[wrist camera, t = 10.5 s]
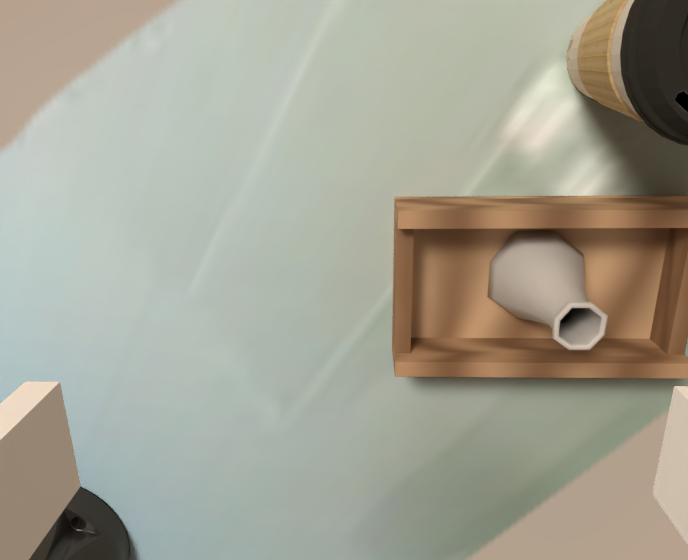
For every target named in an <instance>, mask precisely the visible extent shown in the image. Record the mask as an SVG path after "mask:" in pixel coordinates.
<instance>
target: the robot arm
mask: <svg viewBox="0 0 688 560" xmlns="http://www.w3.org/2000/svg"><path fill="white" fill-rule="evenodd" d="M652 494H653V496H654V497H655V499H656V500H657V502H658V503H659V505H660V506H661V507H662V509H663V510H664V512H665V513H666V515H667V516H668V517H669V518H670V520H671V522H672V523H673V525H674V526H675V527H676V529H677V530H678V532H679V533H680V535H681V536H682V538H683V539H684V540H685V542H686V543H687V545H688V386H674V390H673V395H672V400H671V405H670V410H669V415H668V420H667V425H666V429H665V435H664V439H663V444H662V449H661V454H660V459H659V464H658V469H657V474H656V479H655V483H654V488H653V493H652ZM129 557H130V547H129V541H128V537H127V534H126V532H125V529H124V527H123V525H122V524H121V522H120V520H119V519H118V517H117V516H116V515H115V514H114V512H113V511H112V510H111V509H110V508H109V507H108V506H107V505H106V504H105V503H104V502H103V501H101V500H100V499H99V498H97V497H96V496H95V495H93V494H91V493H90V492H88V491H86V490H85V489H83V488H81V487H80V481H79V476H78V471H77V466H76V461H75V456H74V451H73V446H72V441H71V436H70V431H69V426H68V421H67V416H66V411H65V406H64V401H63V396H62V391H61V385H60V382H25V383H23V384H22V385H21V386H20V387H19V388H18V389H17V390H15V391H14V392H13V393H12V394H11V395H10V396H9V397H7V398H6V399H5V400H4V401H3V402H2V403H1V404H0V560H129Z"/></svg>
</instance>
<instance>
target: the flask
mask: <svg viewBox="0 0 688 560" xmlns="http://www.w3.org/2000/svg"><path fill="white" fill-rule="evenodd" d="M487 297H489V298H490V299H492V300H493V301H494V302H496V303H497V304H498V305H500V306H501V307H502V308H504V309H505V310H507V311H508V312H509V313H511V314H512V315H513V316H515V317H517V318H521V319H526V320H532V321H536V322H539V323H543V324H547V325H549V326H550V327H551V328H552V338H553V339H554V340H556V341H557V342H558V343H560V344H561V345H562V346H564V347H565V348H567V349H568V350H591V349H592V348H593V347H594V346H595V345H596V344H597V343H598V342H599V341H600V340H601V339H602V338H603V337H604V336H605V332H606V325H607V319H608V315H607V314H606V313H605V312H603V311H602V310H601V309H599V308H598V307H597V306H595V305H594V304H593V303H591V302H589V301H588V299H587V296H586V294H585V287H584V255H583V253H582V252H581V251H580V250H578V249H577V248H576V247H574V246H573V245H572V244H571V243H569V242H568V241H567V240H565V239H564V238H563V237H562V236H560V235H559V234H558V233H556V232H555V231H516V232H515V233H514V234H513V235H512V236H511V237H510V239H509V240H508V241H507V242H506V243H505V244H504V246H503V247H502V248H501V249H500V250H499V251H498V252H497V254H496V255H495V256H494V257H493V258H492V259H491V261H490V269H489V282H488V296H487Z"/></svg>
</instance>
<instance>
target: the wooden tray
mask: <svg viewBox="0 0 688 560" xmlns="http://www.w3.org/2000/svg"><path fill="white" fill-rule="evenodd" d="M516 231H555V232H556V233H558V234H559V235H560V236H562V237H563V238H564V239H565V240H567V241H568V242H569V243H571V244H572V245H573V246H574V247H576V248H577V249H578V250H580V251H581V252H582V253H583V255H584V287H585V294H586V296H587V299H588V301H589V302H591V303H593V304H594V305H595V306H597V307H598V308H599V309H601V310H602V311H603V312H605V313H606V314H607V315H608V319H607V325H606V332H605V336H604V337H603V338H602V339H601V340H600V341H599V342H598V343H597V344H596V345H595V346H594V347H593V348H592V349H591V350H568V349H567V348H565V347H564V346H562V345H561V344H560V343H558V342H557V341H556V340H554V339H553V338H552V328H551V327H550V326H549V325H547V324H543V323H539V322H536V321H532V320H526V319H521V318H517V317H515V316H513V315H512V314H511V313H509V312H508V311H507V310H505V309H504V308H502V307H501V306H500V305H498V304H497V303H496V302H494V301H493V300H492V299H490V298H489V297H487V296H488V282H489V269H490V261H491V259H492V258H493V257H494V256H495V255H496V254H497V252H498V251H499V250H500V249H501V248H502V247H503V246H504V244H505V243H506V242H507V241H508V240H509V239H510V237H511V236H512V235H513V234H514V233H515V232H516ZM687 338H688V196H496V197H395V203H394V261H393V318H392V352H393V362H394V371H395V377H538V378H688V358H687V357H686V356H685V355H684V352H685V348H686V343H687Z"/></svg>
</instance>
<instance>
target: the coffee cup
mask: <svg viewBox="0 0 688 560" xmlns="http://www.w3.org/2000/svg"><path fill="white" fill-rule="evenodd" d="M567 69H568V73H569V76H570V78H571V80H572V82H573V84H574V85H575V86H576V88H577V89H578V90H579V91H580V92H582V93H583V94H584V95H586V96H588V97H590V98H592V99H595V100H596V101H597V102H599V103H600V104H602V105H604V106H606V107H608V108H610V109H613V110H615V111H617V112H620V113H622V114H624V115H627V116H629V117H631V118H633V119H636V120H638V121H640V122H643V123H645V124H646V125H647V126H649V127H650V128H651V129H653V130H654V131H655V132H657V133H658V134H660V135H661V136H662V137H665V138H667V139H669V140H672V141H674V142H676V143H679V144H683V145H688V0H607V1H605V2H604V3H603V4H602V5H601V6H600V7H599V8H598V9H597V10H596V11H594V12H593V13H591V14H590V15H589V16H587V17H586V18H585V19H584V20H583V21H582V22H581V23H580V25H579V26H578V27H577V29H576V30H575V32H574V34H573V36H572V38H571V40H570V43H569V46H568V50H567Z"/></svg>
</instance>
